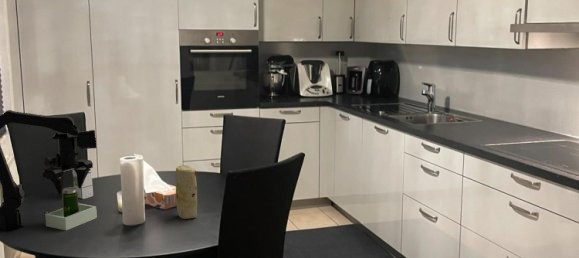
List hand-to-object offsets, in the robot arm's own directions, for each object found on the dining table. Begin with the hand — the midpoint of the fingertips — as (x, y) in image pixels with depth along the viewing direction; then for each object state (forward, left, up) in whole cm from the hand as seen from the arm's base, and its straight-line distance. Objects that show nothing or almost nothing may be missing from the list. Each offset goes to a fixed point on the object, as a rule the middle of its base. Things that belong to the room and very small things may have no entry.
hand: (70, 191), depth 205 cm
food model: (+23, -35, -12) cm, 44 cm away
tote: (0, 0, -12) cm, 12 cm away
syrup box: (+25, +20, -12) cm, 35 cm away
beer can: (0, 0, -11) cm, 11 cm away
